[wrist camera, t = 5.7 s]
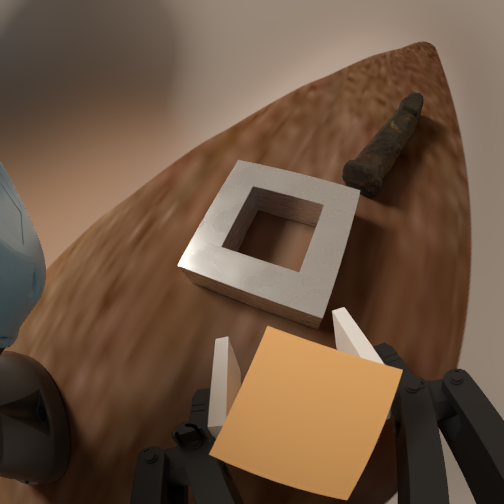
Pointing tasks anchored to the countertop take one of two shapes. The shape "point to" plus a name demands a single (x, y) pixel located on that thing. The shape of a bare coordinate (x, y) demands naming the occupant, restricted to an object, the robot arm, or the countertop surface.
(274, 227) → the countertop surface
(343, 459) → the orange rectangular block
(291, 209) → the square frame
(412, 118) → the hand tool
